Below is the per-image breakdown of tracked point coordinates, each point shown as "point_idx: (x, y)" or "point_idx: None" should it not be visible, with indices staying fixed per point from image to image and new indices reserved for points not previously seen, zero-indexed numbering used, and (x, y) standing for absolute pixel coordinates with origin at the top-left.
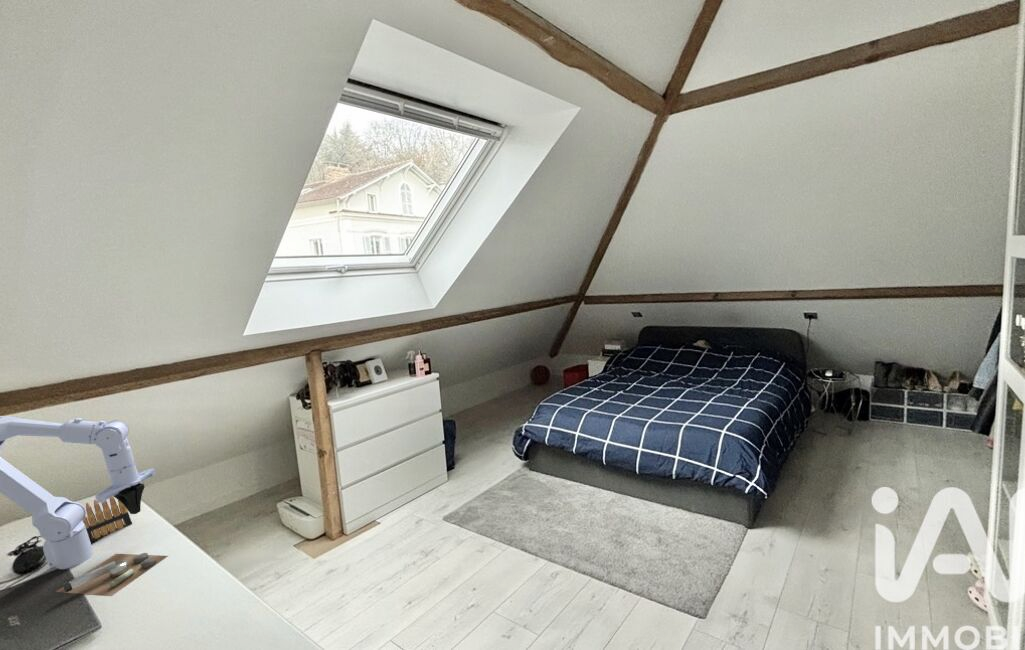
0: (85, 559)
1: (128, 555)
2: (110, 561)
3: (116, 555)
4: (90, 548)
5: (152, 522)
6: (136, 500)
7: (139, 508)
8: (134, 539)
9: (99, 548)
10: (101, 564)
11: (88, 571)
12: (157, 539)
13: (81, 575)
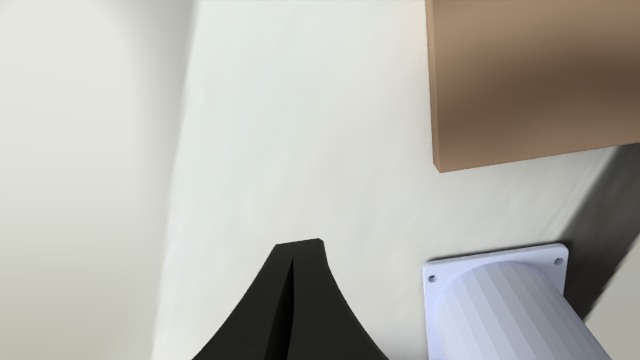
0: (502, 272)
1: (447, 63)
2: (505, 118)
3: (453, 149)
4: (474, 310)
5: (179, 313)
6: (275, 333)
7: (277, 257)
8: None
9: (386, 331)
10: (531, 142)
11: (589, 144)
12: (258, 112)
13: (621, 144)
